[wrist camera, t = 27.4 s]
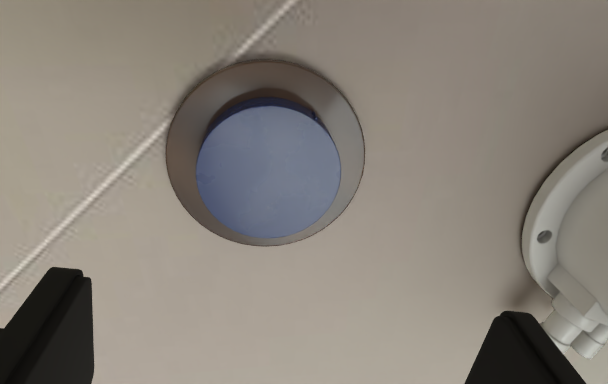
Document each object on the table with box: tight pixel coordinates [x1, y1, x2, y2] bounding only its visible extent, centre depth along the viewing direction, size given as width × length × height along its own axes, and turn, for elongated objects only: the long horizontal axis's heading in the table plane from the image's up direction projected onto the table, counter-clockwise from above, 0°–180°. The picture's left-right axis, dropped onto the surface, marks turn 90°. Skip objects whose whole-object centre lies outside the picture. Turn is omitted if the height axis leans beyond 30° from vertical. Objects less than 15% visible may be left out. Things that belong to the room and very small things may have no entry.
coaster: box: [166, 59, 365, 246], centre depth 23 cm, size 10×10×1 cm
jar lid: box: [196, 97, 341, 238], centre depth 22 cm, size 7×7×2 cm
